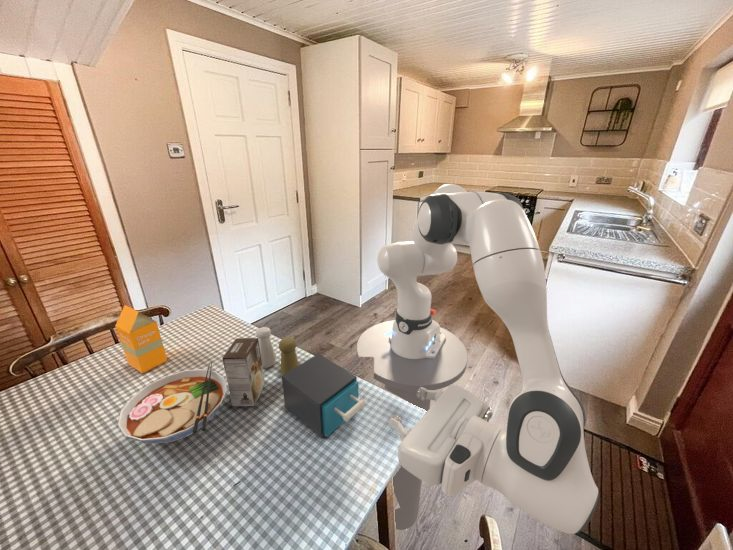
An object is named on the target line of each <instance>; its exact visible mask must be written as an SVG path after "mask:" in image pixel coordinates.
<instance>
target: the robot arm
mask: <svg viewBox="0 0 733 550" xmlns="http://www.w3.org/2000/svg"><path fill="white" fill-rule="evenodd" d="M411 230H412V231H411V238H412V240H411V241H396V242H392V243H389V244H385V245H383V246H382V247H381V248H380V249H379V251H378V254H377V258H376V259H377V260H376V261H377V266H378V269H379V270H380V272H381V273H382V274H383V275H384V276H385V277H387V278H388V279H389V280H390V281H391V282H392V283H393V284H394V287H395V289H396V294H397V309H396V311H395V317H394V318H395V319H394V320H395V321H394V322H393V329H392V330H391V331H389V332H387V333H385V336H387V335H389V334H391V333H392V335H390V336H389V340H390V342H391V349H392V350H393V352H394V353H396V354H397V355H399V356H401V357H403V358H407V359H422V358H429V359H433V358H435V357H436V355H437V353H438V351H439V349H440V348H441V346H442V344H443V342H444V341H445V339H446V336H445V335H444V334H443V333H442V332H440V327H441V325H440V324H439V323H438V321H436V320H434V318H433V317H432V316H435V315H436V313H437V310H436V309H432V308H431V306H432V292H431V290H430V289H429V287H427V286H426V285H424V284H423V283H420V282H418V281H417V279H418V277H420V276H434V275H440V274H444V273H448V272H451V271H453V269H454V268H455V267H456V265H457V262H458V252H457V248H456V247H455V245H463V246H464V245H465V246H466V245H467V246H469V249H470V250H469V251H470V257H471V258H470V259H471V262H472V263H471V264H472V267H473V272H474V277H475V280H476V283H477V286H478V288H479V292H480V293H481V296H482V299H483V300H484V302H485V303H486V305H487V306H488V307H489V308H490V309H491V310H492V311H493V312H494V313H495V314H496V315H497V316H498V317H499V318H500V320H501V321H502V322H503V323H504V325H505V326H506V328H507V330H508V332H509V334H510V337H511V339H512V342H513V346H514V350H515V354H516V358H517V361H518V365H519V368H520V372H521V378H522V386H521V387H522V388H521V391H520V393H518V394H517V395H516V397H514V398H513V400H512V401H511V403H510V405H509V407H508V412H507V426H506V430H504V429H502V428H500V427H498V426H496V425H494V424H493V423H491V422H489V421H490V420H491V419H492V418H493V414H494V413H493V411H492V408H491V406H490V405H489V404H488V403H487V402H486V401H485V402H484V401H483V400H482V399H481V398H479V397H478V396H477V395H476V394H475V393H472V392H471V391H469V390H468V389H466V388H464V387H463V386H461V385H459V384H455V383H453V384H450V385H449V386H447V387H446V388H445V390H444V391H443V392H442V391H440V390H438V389H437V390H427V389H425V388H423V387H420V388H419V389H418V391H417V397H418V398H421V400H423V401H424V400H425V399H429V400H430V401H434V403H433V404H432V405H430V409H429V410H428V411H427V412H424V415H423V416H422V417H421V418H420V419H419V420H418V422H416V423H415V425H414V426H413V427H412V429H411V428H410V427H404V426H403V424H402V422H403V418H402V417H401V416H398V415H397V414H393V415H392V416H391V417H390V418H389V420H388V421H389V423H388V424H389V427H391V428H393V430H395V431H396V433H397V434H398V437H399V439H400V442H399V444H398V448H397V449H398V450H397V459H398V461H399V462H400V464H401V466H402V467H403V468H405V469H406V470H407V471H409V472H410V473H411V474H413V475H414V476H416V477H417V478H419V479H420V480H422V482H424V483H426V484H427V485H430V486H439V485H441V487H440V488H441V489H440V490H441V492H442V493H443V494H445V495H446V496H447V497H449V498H453V497H456V496H457V495H459V493H461V492H462V491H463V490H464V489H466V488H467V487H469V486H470V485H472V484H473V483H475V482H476V481H477V482H479V483H480V484H482V485H484V486H485V487H488V488H491V489H494V490H495V491H498V492H499V493H500V494H501V495H503V497H505V498H506V500H507V501H508V502H510V503H511V504H512V505H513V506H515V507H517V508H518V509H520V510H521V511H523V512H525V513H526V514H527V515H529V516H531V517H533V518H534V519H536V520H537V521H539V522H541V523H543V524H545V525H547V526H548V527H550V528H553V529H554V530H557V531H559V532H561V533H565V534H568V535H574V534H578V533H580V532H581V531H583V530H584V529H585V528H586V527H587V525H588V524H589V522H590V521H591V519H592V517H593V516H594V513H595V510H596V507H597V506H598V502H599V497H600V493H599V488H598V486H597V484H596V482H595V480H594V477H593V475H592V472H591V468H590V463H589V460H588V455H587V450H586V443H585V433H584V431H585V430H584V429H585V426H586V421H587V419H586V411H585V408H584V405H583V403H582V401H581V400H580V398H579V397H578V395H577V394H576V392H575V391H574V390H573V389H572V388H571V386H570V385H569V384H568V383H567V381H566V380H565V378H564V377H563V374H562V372H561V368H560V364H559V362H558V358H557V354H556V351H555V348H554V344H553V340H552V336H551V333H550V329H549V323H548V321H549V320H548V294H547V293H548V292H547V291H548V290H547V278H546V277H547V275H546V270H545V269H546V268H545V263H544V259H543V256H542V255H543V254H542V251H541V247H540V245H539V241H538V238H537V236H536V234H535V231H534V228H533V227H532V224H531V222H530V220H529V218H528V216H527V214H526V212H525V211H524V208H523V204H522V202H521V200H520V199H519V198H518V197H516V196H515V195H512V194H510V193H506V192H502V191H501V192H488V191H476V190H475V191H474V190H471V191H467V190H466V189H465V188H464V187H462V186H461V185H459V184H455V183H446V184H442V185H441V186H439V187H438V188H437V189H435V190H434V192H433V193H432V194H430V195H428V196H426V197H425V198H424V199H423V200H422V202H421V204H420V206H419V208H418V213H417V218H416V221H415V222H414V225H413V227H412V229H411Z"/></svg>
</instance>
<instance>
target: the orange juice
mask: <svg viewBox="0 0 733 550" xmlns="http://www.w3.org/2000/svg"><path fill="white" fill-rule="evenodd" d="M114 327H115V329H116V333H117V335H118V338H119V341H120V344H121V348H122V350H123V353H124V355H125V358H126V361H127V364H128V365H129V366H130V367H132V368H133V369H135V370H137V371H138V372H139V373H141V374H145V373H146V372H148V371H150V370H152V369H155V368H156V367H158V366H160V365H162V364H164V363H165V362H167V361H168V357H167V353H166V351H165V347H164V343H163V339H162V337H161V333H160V330H159V326H158V322H157V321H156V320H154V319H153V318H151V317H149V316H147V315H146V314H144V313H142V312H141V311H139V310H137V309H135V308H133V307H130V306H128V305H126V304H124V305H123V307H122V309H121V312H120V314H119V316H118V319H117V321H116V323H115V325H114Z"/></svg>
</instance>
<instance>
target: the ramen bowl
mask: <svg viewBox="0 0 733 550" xmlns="http://www.w3.org/2000/svg"><path fill="white" fill-rule="evenodd" d="M212 365H213V362H212V361H211V362H209V363H208V366H207V369H204V368H197V369H185V370H181V371H179V372H175V373H172V374H168V375H165V376H163V377H161V378H160V379H157V380H155V381H152V382H150V383H149V384H147V385H145V386H144V387H143V388H142V389H140V390H139V391H138V392H137V393H135V394H134V395H133V396H131V398H130V399H129V400H128V401H127V402H126V404H125V405H124V406H123V407H122V409H121V410H120V413H119V417H118V422H117V426H118V428H119V429H120V430H121V432H122V433H123V434H122V435H124V436H125V437H127V438H128V439H130V440H135V441H138V442H142V443H146V444H150V445H154V444H166V443H174V442H177V441H178V440H181V439H184V438H186V437H189V436H191V435H192V434H193V435H194V434H197V433H198V430H200V429H201V431H202V432H205V431H206V430H207V423H209V421H210V420H211V419H212V418H213V417H214V416H215V414H216V413H217V412H218V411H219V409H220V408H221V406H222V403H223V400H224V398H225V395H226V393H227V391H228V385H227V381H226V378H225V377H224V376H223V375H221V374H220V373H219V372H217V371H215V370H212V367H213V366H212Z"/></svg>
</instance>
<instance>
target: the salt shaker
mask: <svg viewBox="0 0 733 550" xmlns="http://www.w3.org/2000/svg"><path fill="white" fill-rule="evenodd" d="M271 334H272V331H271V329H270V327H268V326H263V327H260V328H258V329H256V331H255V336H256V338H258V340H259V347H260V353H261V360H262V367H263V369H266V368H271V367H272V366H273V365H275V363H276V359H277V354H276V352H275V349H274V346H273V343H272V341H271V338H270V337H271Z"/></svg>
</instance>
